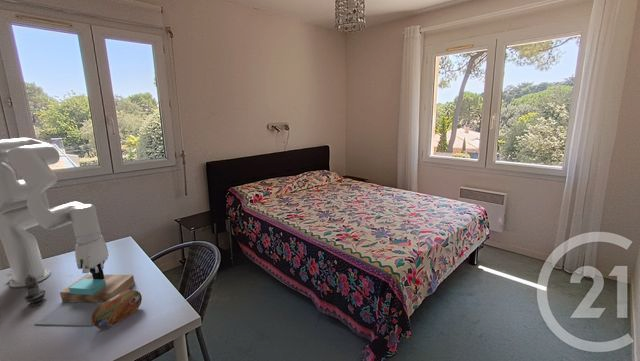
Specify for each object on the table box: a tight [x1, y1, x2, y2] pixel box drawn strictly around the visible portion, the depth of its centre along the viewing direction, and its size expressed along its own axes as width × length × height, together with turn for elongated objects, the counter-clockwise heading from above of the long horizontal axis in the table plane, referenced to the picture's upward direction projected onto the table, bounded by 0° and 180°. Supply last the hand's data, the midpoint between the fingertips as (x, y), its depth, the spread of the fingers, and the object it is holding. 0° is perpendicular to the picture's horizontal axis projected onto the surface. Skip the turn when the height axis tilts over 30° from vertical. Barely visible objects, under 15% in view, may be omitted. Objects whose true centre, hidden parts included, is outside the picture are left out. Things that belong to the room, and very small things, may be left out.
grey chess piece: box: [23, 275, 48, 309], centre depth 106 cm, size 6×6×12 cm
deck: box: [59, 273, 136, 303], centre depth 113 cm, size 20×12×4 cm, turn 86°
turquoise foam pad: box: [69, 279, 106, 295], centre depth 108 cm, size 9×6×2 cm, turn 83°
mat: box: [34, 302, 103, 327], centre depth 101 cm, size 20×11×1 cm, turn 86°
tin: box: [92, 289, 143, 330], centre depth 98 cm, size 15×3×8 cm, turn 154°
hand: (99, 279), depth 113 cm, fingers closed
